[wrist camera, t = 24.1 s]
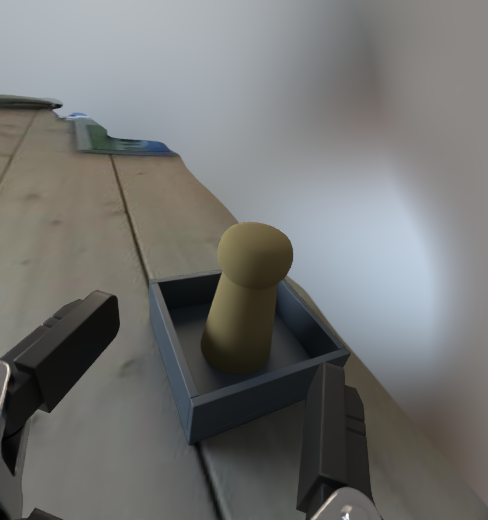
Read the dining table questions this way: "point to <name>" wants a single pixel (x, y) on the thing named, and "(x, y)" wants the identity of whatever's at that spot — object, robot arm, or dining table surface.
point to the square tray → (225, 384)
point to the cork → (246, 297)
